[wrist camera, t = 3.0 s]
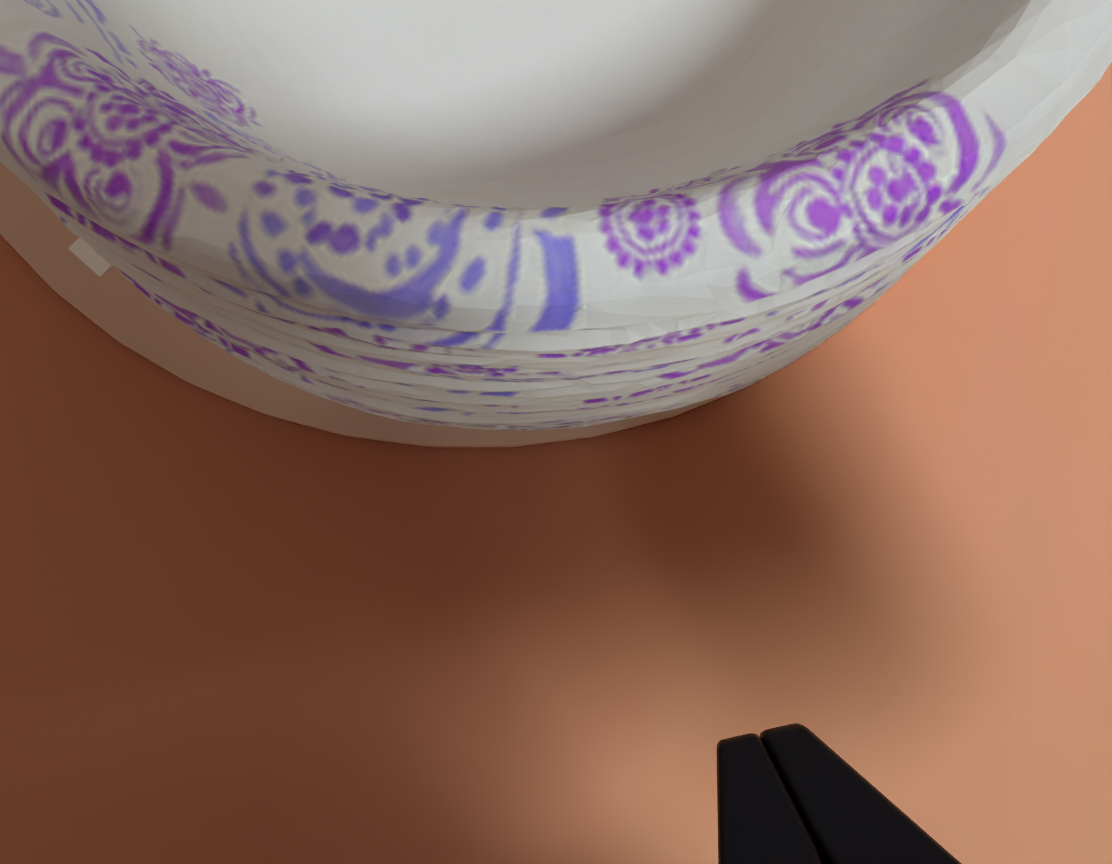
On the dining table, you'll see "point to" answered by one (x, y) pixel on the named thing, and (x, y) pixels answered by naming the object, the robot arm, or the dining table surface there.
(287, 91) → the white floral bowl
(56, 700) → the dining table surface
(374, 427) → the centring plate
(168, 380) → the dining table surface
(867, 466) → the dining table surface
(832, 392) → the dining table surface
